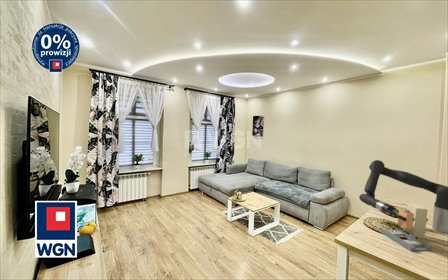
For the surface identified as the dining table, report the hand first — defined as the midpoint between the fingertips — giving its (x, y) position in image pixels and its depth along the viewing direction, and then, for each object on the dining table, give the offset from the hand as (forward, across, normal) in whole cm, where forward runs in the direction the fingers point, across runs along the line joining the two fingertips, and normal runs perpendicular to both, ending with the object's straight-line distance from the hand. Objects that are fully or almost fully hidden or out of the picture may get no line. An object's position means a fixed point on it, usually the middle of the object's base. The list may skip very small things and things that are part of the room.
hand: (409, 219), depth 119 cm
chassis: (-2, 0, +16) cm, 16 cm away
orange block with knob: (-3, 0, +6) cm, 7 cm away
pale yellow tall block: (-9, +16, +16) cm, 24 cm away
